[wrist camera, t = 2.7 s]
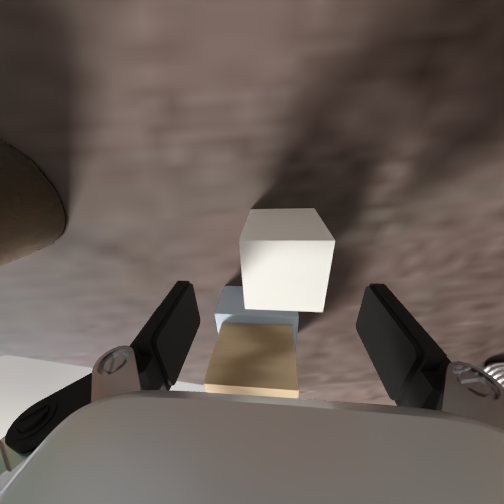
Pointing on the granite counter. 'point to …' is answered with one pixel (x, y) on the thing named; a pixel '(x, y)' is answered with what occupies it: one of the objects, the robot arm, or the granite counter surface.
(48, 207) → the pillar candle
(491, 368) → the lightbulb
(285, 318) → the tower base
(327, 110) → the granite counter surface
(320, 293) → the white block
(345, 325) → the granite counter surface
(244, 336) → the tower mid
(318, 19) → the granite counter surface
